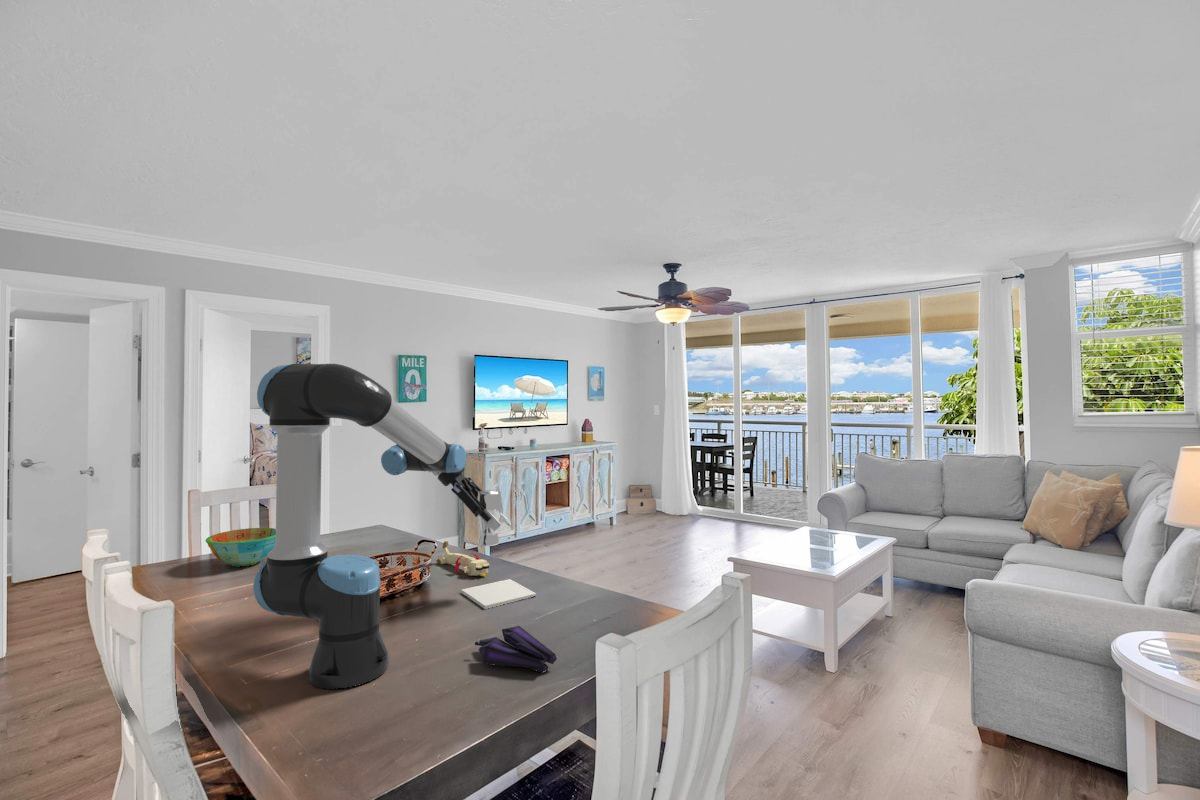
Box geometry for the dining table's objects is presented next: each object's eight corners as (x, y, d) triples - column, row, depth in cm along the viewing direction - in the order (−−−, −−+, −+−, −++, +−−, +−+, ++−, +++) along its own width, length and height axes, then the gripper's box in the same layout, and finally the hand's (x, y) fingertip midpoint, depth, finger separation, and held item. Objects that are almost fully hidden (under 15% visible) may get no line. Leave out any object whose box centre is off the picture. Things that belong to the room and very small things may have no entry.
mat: (536, 596, 163) (536, 593, 163) (485, 609, 154) (485, 605, 154) (510, 582, 176) (510, 579, 176) (461, 592, 167) (461, 589, 167)
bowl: (224, 578, 179) (224, 546, 179) (193, 566, 191) (193, 537, 191) (295, 561, 198) (295, 532, 198) (262, 551, 210) (262, 524, 210)
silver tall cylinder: (505, 543, 166) (506, 492, 166) (486, 548, 161) (486, 495, 161) (490, 539, 171) (491, 489, 171) (471, 543, 165) (472, 492, 165)
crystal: (565, 636, 123) (497, 609, 134) (530, 662, 113) (460, 630, 124) (565, 666, 124) (498, 637, 135) (530, 695, 114) (461, 661, 125)
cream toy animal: (431, 569, 194) (472, 579, 177) (430, 543, 194) (471, 551, 177) (456, 563, 201) (498, 572, 184) (455, 538, 202) (497, 545, 184)
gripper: (447, 472, 176) (498, 526, 175) (425, 482, 156) (483, 542, 156) (464, 456, 176) (516, 509, 175) (445, 463, 156) (503, 523, 156)
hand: (500, 524), depth 166 cm, fingers closed on silver tall cylinder, 7 cm apart
